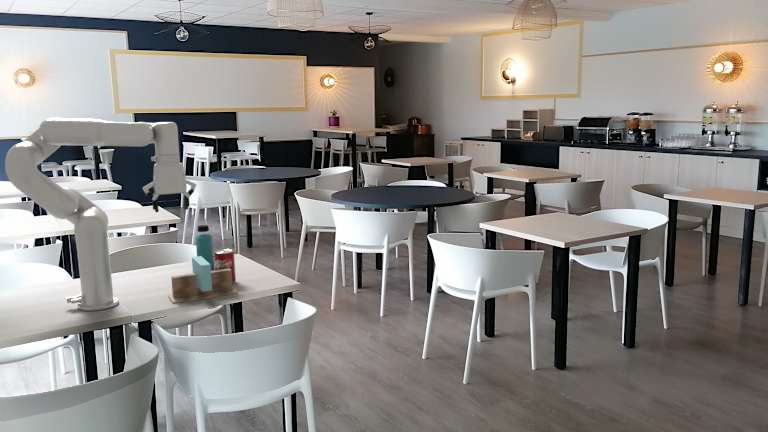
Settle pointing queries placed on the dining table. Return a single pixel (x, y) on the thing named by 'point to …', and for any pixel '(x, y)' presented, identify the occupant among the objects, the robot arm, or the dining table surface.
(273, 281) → the dining table surface
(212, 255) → the beverage bottle
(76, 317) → the dining table surface
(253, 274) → the dining table surface
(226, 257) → the soda can
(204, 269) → the teal rectangular block
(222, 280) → the walnut slotted stand
